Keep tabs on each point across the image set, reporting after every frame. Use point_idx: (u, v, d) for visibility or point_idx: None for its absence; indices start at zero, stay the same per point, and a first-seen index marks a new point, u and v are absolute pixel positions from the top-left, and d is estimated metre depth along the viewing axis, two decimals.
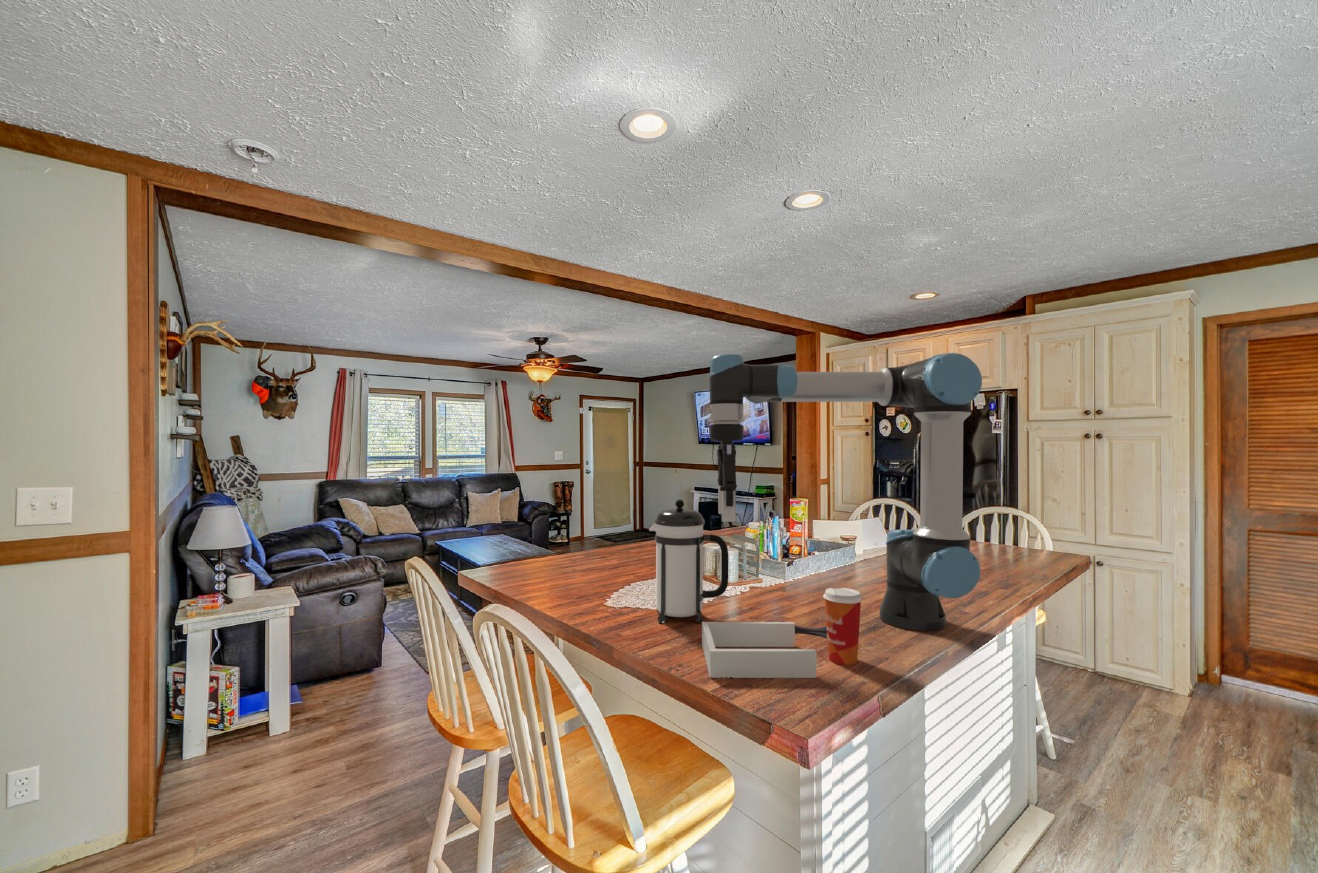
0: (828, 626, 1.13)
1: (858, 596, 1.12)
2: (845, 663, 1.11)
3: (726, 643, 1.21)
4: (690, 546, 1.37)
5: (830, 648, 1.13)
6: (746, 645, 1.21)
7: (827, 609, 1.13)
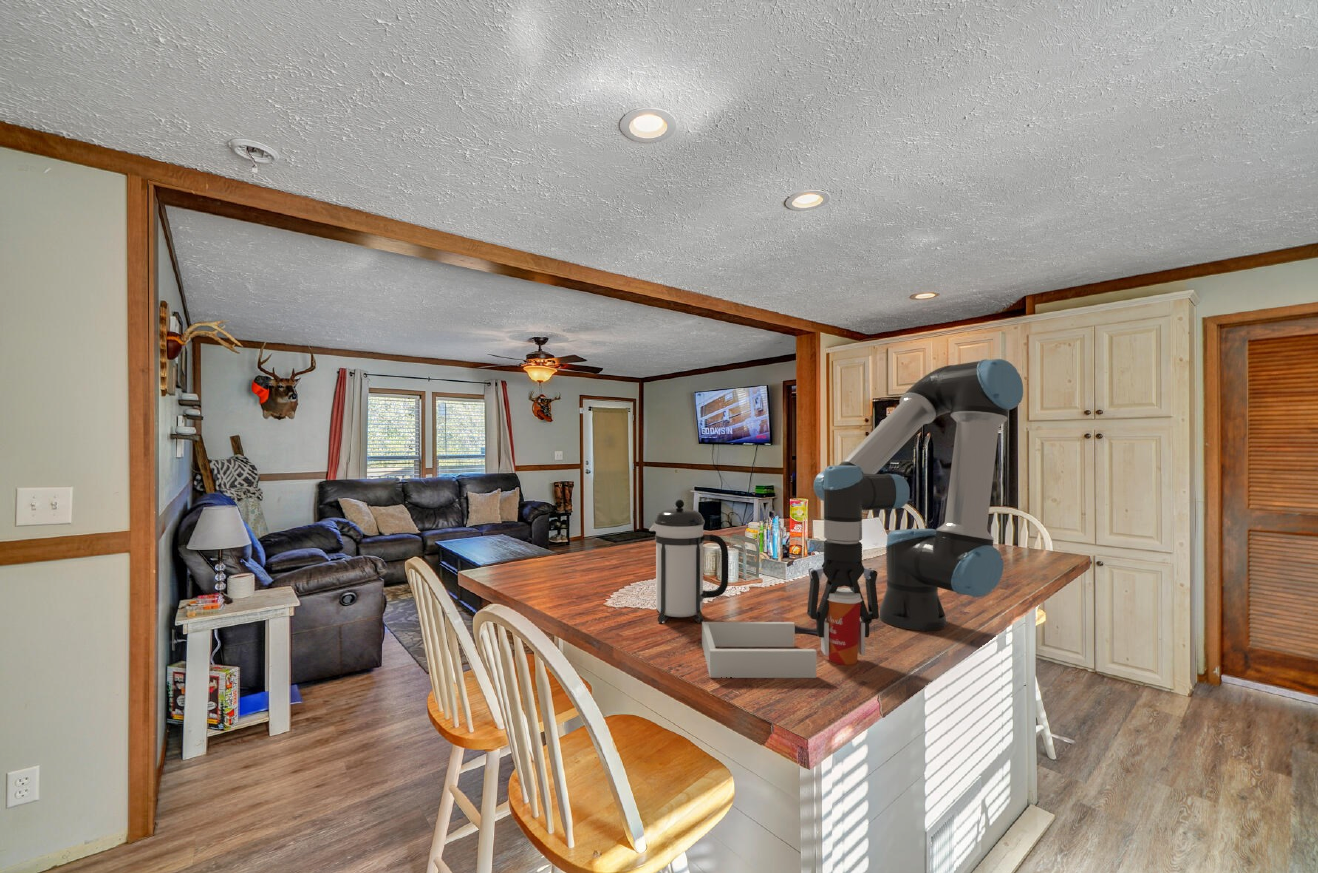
0: None
1: (858, 596, 1.12)
2: (845, 663, 1.11)
3: (726, 643, 1.21)
4: (690, 546, 1.37)
5: (830, 648, 1.13)
6: (746, 645, 1.21)
7: None
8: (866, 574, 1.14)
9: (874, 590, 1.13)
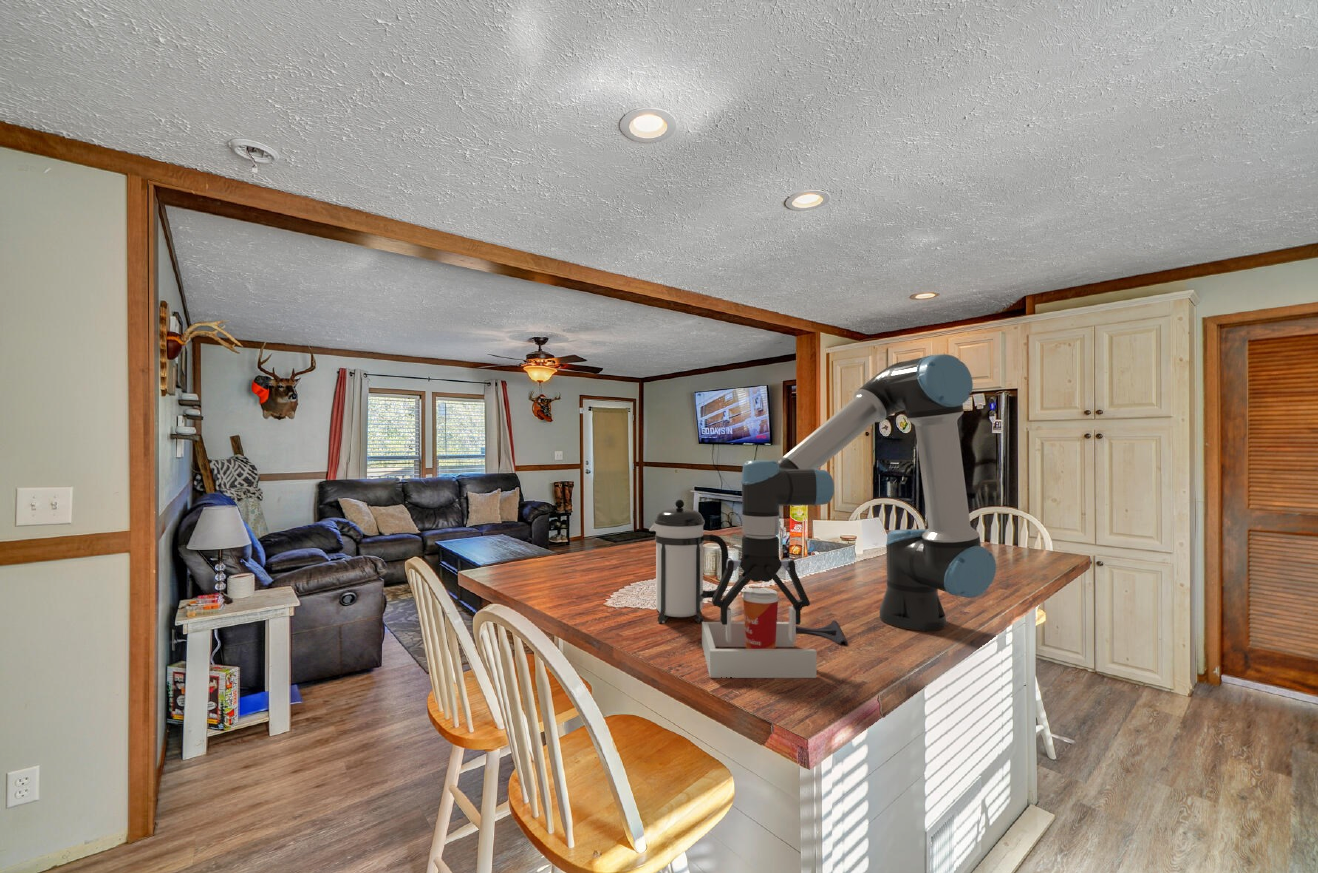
0: (745, 626, 1.13)
1: (774, 596, 1.12)
2: None
3: (726, 643, 1.21)
4: (690, 546, 1.37)
5: (747, 648, 1.13)
6: None
7: (744, 609, 1.13)
8: (785, 566, 1.14)
9: (797, 579, 1.13)
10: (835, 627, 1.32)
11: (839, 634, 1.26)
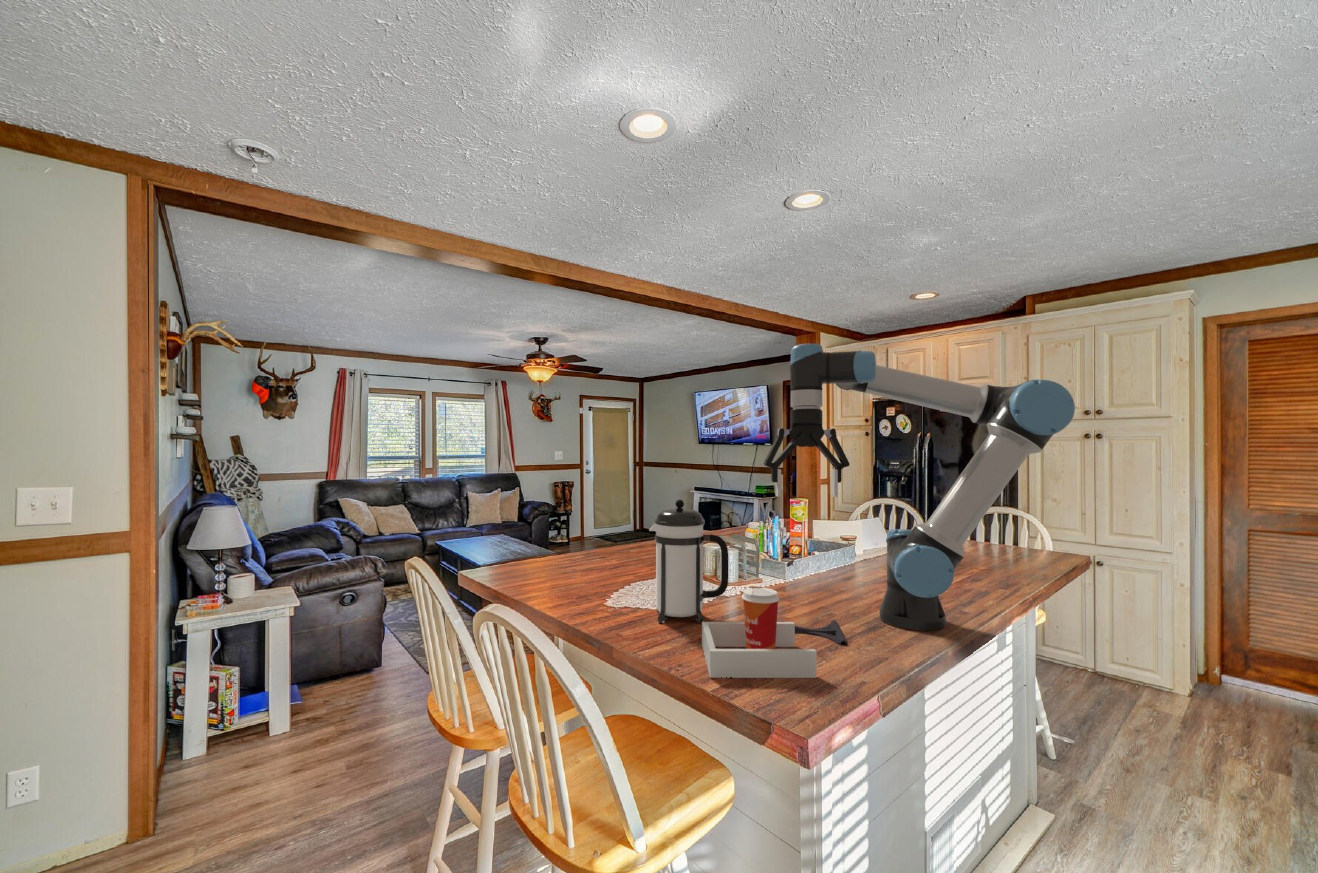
0: (745, 626, 1.13)
1: (774, 596, 1.12)
2: None
3: (726, 643, 1.21)
4: (690, 546, 1.37)
5: (747, 648, 1.13)
6: None
7: (744, 609, 1.13)
8: (827, 434, 1.34)
9: (838, 444, 1.33)
10: (835, 627, 1.32)
11: (839, 634, 1.26)
